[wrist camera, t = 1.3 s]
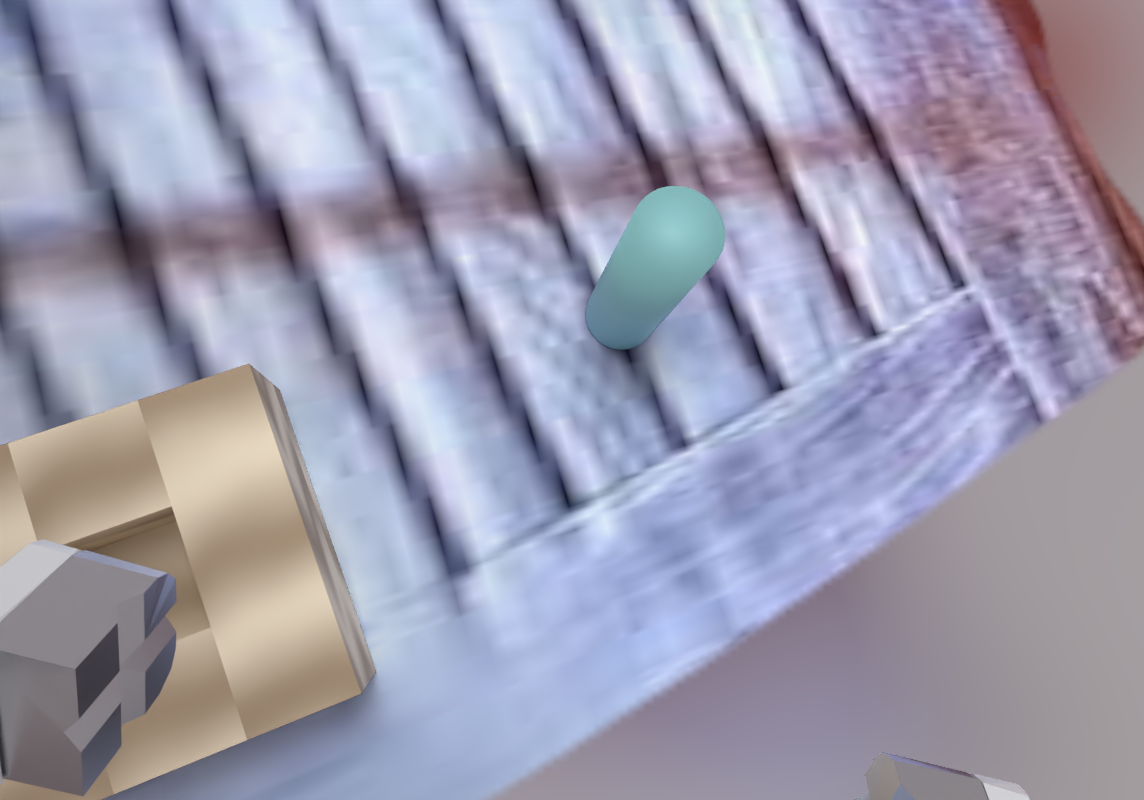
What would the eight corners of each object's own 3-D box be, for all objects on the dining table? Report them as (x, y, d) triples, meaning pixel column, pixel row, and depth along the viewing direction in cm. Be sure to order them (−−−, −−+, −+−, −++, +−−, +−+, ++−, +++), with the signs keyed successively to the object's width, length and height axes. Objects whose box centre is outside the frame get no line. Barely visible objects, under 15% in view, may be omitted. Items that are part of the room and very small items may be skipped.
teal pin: (575, 294, 44) (616, 202, 32) (639, 272, 44) (703, 174, 33) (600, 359, 43) (652, 290, 32) (665, 336, 44) (739, 260, 32)
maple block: (-28, 492, 39) (-116, 483, 33) (279, 389, 41) (248, 363, 35) (62, 797, 37) (-13, 845, 31) (376, 671, 39) (361, 693, 34)
